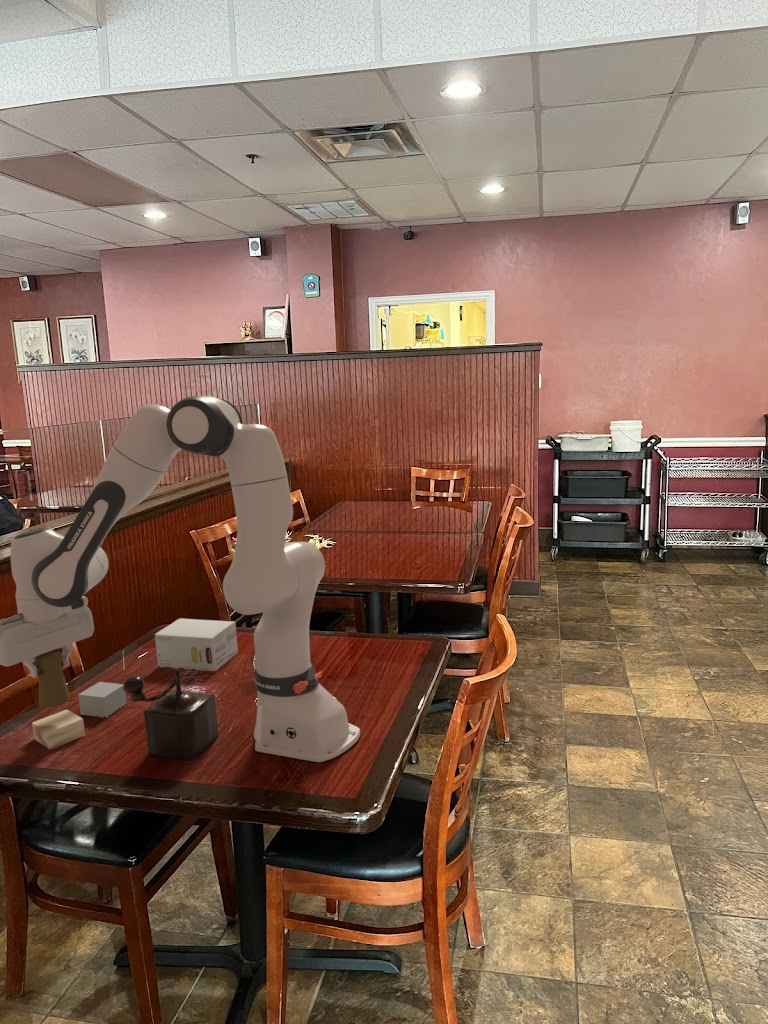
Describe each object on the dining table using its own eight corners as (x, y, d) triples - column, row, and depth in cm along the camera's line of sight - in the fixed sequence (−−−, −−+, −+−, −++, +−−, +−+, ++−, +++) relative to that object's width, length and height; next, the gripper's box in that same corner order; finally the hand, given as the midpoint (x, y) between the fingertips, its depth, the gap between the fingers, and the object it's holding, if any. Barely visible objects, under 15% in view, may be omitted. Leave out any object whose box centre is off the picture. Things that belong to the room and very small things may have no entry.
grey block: (126, 704, 166) (124, 684, 165) (106, 718, 160) (103, 697, 159) (102, 701, 168) (99, 681, 168) (80, 715, 162) (78, 694, 161)
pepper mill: (174, 729, 153) (165, 649, 149) (220, 735, 149) (212, 653, 146) (127, 768, 138) (116, 680, 135) (177, 775, 135) (167, 685, 131)
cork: (75, 694, 153) (69, 646, 151) (60, 707, 147) (53, 657, 145) (49, 694, 154) (42, 646, 152) (32, 707, 148) (25, 657, 146)
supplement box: (157, 668, 187) (153, 634, 185) (183, 649, 200) (180, 617, 198) (215, 672, 183) (212, 637, 181) (238, 652, 195) (235, 619, 193)
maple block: (85, 736, 152) (83, 718, 151) (49, 751, 147) (47, 732, 146) (69, 726, 157) (66, 709, 156) (34, 740, 152) (31, 722, 151)
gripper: (-1, 625, 136) (10, 693, 139) (94, 595, 153) (101, 656, 156) (-18, 620, 140) (-8, 686, 142) (76, 591, 156) (84, 651, 159)
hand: (50, 670), depth 149 cm, fingers closed on cork, 5 cm apart
